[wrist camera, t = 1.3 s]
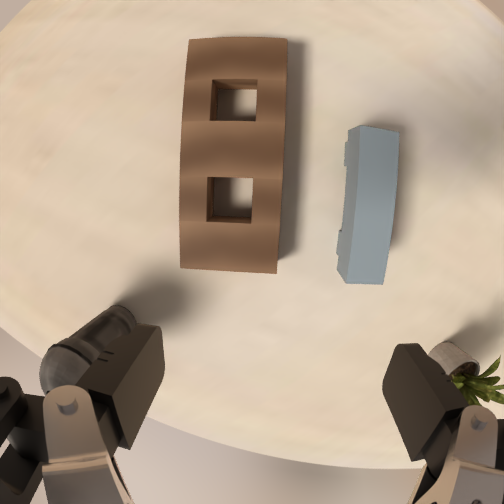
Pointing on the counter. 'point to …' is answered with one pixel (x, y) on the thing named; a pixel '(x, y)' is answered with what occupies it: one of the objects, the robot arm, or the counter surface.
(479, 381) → the house plant
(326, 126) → the counter surface
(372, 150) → the grey bridge block
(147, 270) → the counter surface
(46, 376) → the beverage cup
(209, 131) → the brown wooden slab
